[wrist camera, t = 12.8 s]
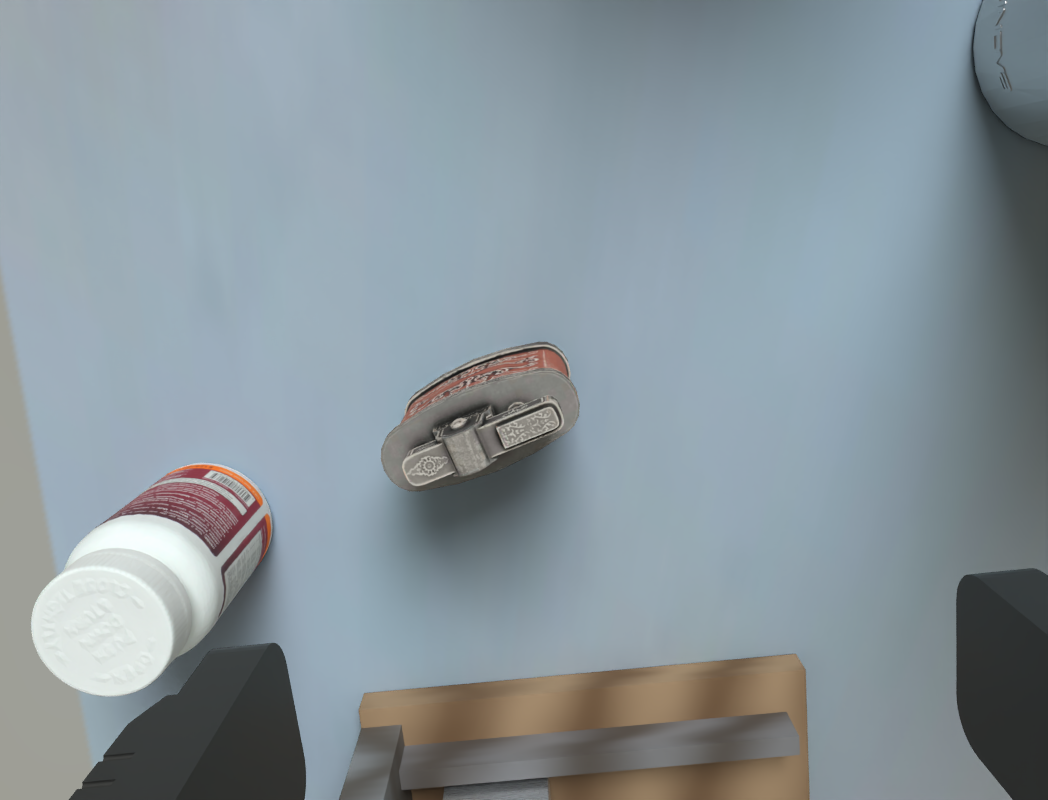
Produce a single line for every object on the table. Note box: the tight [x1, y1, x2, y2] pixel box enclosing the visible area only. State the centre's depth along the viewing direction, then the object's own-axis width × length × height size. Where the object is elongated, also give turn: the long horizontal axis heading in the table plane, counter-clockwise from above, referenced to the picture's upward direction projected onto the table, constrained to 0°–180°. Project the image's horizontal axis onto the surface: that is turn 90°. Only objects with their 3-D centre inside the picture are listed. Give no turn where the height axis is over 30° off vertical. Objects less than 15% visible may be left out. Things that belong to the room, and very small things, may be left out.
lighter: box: [381, 342, 580, 491], centre depth 35 cm, size 8×3×10 cm, turn 112°
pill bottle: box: [31, 463, 273, 697], centre depth 36 cm, size 6×6×11 cm
